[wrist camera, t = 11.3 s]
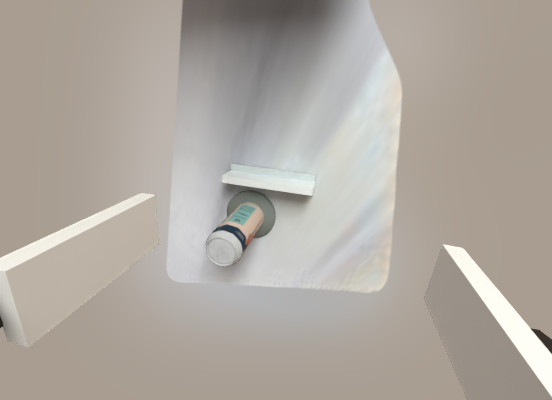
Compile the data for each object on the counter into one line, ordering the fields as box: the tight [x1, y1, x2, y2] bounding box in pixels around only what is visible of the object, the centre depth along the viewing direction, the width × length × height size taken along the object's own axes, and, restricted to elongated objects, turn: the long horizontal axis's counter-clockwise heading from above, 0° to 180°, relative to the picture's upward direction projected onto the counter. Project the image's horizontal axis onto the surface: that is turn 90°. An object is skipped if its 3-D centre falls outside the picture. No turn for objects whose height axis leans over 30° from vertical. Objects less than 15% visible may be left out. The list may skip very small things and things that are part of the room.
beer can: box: [206, 202, 264, 266], centre depth 39 cm, size 5×5×12 cm
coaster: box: [227, 191, 275, 238], centre depth 45 cm, size 8×8×1 cm
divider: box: [222, 163, 316, 196], centre depth 40 cm, size 3×13×4 cm, turn 85°
